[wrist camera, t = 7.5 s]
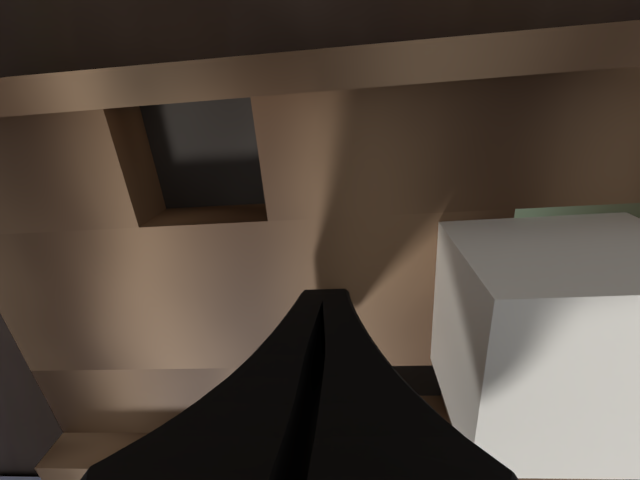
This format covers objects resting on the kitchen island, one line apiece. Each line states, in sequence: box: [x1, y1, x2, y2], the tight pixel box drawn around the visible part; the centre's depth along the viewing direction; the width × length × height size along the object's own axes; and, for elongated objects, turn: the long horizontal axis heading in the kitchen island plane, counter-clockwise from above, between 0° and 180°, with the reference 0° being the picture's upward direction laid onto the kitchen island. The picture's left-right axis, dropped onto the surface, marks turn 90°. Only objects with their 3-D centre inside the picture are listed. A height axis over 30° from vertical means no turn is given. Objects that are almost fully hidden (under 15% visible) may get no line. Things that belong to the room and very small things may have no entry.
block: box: [430, 212, 640, 480], centre depth 9 cm, size 5×5×4 cm
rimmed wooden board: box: [0, 20, 640, 480], centre depth 11 cm, size 22×14×4 cm, turn 94°
